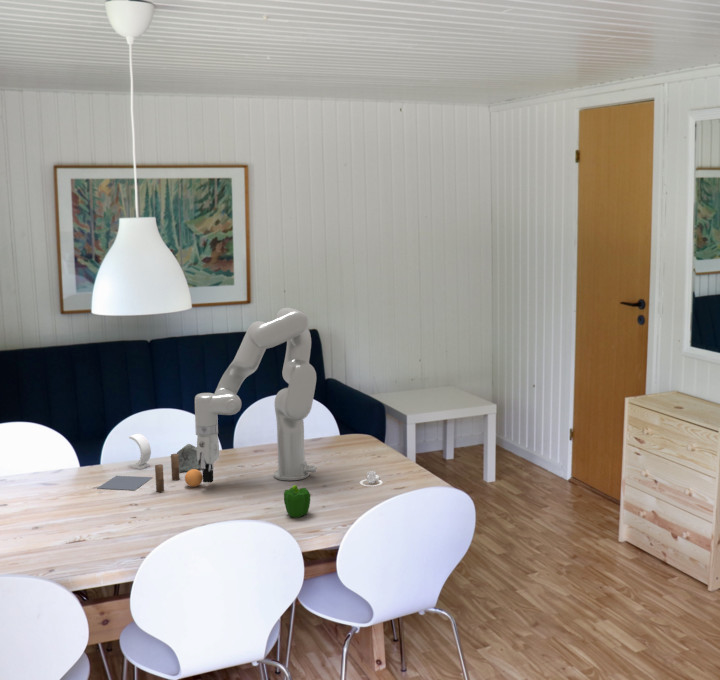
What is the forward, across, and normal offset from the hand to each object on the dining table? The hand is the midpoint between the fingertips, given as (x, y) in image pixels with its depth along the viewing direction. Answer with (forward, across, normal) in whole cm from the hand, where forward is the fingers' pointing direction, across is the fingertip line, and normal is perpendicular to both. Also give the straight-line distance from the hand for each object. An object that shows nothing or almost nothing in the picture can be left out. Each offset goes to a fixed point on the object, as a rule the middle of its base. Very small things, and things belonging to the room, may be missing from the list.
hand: (208, 481), depth 279 cm
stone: (+2, +20, +14) cm, 25 cm away
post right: (+2, +7, +15) cm, 17 cm away
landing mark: (+3, +1, +31) cm, 31 cm away
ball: (-1, 0, +5) cm, 5 cm away
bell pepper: (+2, -22, -37) cm, 43 cm away
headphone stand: (+3, +20, +34) cm, 39 cm away
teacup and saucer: (+2, +12, -58) cm, 59 cm away
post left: (+2, -6, +15) cm, 16 cm away
